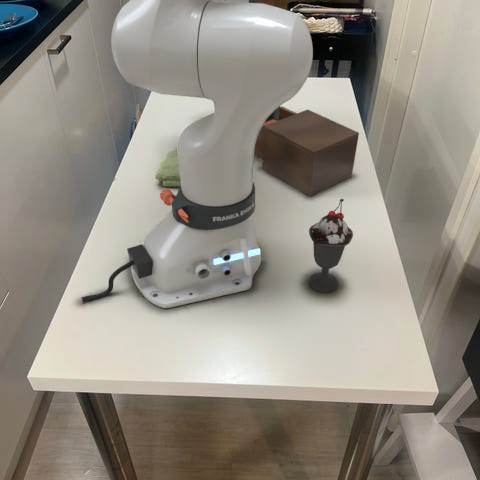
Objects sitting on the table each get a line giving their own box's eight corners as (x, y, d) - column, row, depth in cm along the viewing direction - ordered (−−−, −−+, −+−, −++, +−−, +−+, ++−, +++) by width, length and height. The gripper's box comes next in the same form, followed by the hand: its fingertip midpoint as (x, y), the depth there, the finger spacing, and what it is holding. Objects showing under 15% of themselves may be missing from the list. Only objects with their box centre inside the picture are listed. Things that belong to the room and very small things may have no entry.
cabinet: (262, 168, 109) (263, 126, 102) (304, 151, 114) (307, 109, 107) (309, 196, 101) (314, 152, 94) (351, 176, 106) (359, 132, 99)
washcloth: (167, 157, 112) (165, 143, 110) (245, 160, 111) (245, 146, 109) (155, 188, 103) (152, 174, 101) (239, 191, 102) (238, 177, 100)
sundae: (342, 270, 84) (356, 193, 74) (344, 297, 80) (359, 218, 69) (303, 268, 85) (311, 191, 74) (303, 295, 80) (312, 216, 70)
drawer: (227, 142, 115) (226, 108, 110) (263, 128, 120) (264, 95, 115) (278, 171, 106) (279, 136, 100) (315, 155, 111) (319, 120, 105)
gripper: (272, 45, 102) (269, 112, 112) (212, 22, 114) (215, 85, 124) (248, 52, 100) (248, 120, 110) (190, 28, 111) (194, 91, 121)
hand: (230, 101), depth 117 cm, fingers closed
